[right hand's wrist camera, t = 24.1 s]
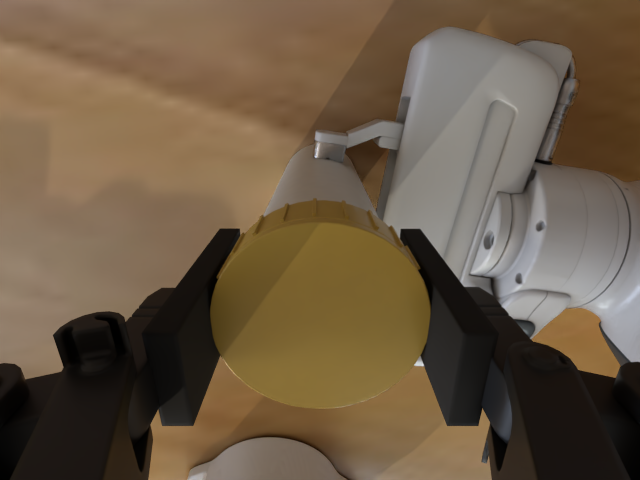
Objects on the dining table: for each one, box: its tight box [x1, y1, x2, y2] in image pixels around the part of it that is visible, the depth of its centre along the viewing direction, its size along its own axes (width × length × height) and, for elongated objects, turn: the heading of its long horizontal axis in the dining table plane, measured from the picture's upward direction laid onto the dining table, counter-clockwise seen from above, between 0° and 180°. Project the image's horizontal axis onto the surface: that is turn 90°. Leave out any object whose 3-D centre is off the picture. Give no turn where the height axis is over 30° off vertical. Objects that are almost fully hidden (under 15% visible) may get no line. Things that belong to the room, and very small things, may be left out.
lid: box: [210, 198, 431, 409], centre depth 11 cm, size 6×6×2 cm
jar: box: [263, 144, 378, 217], centre depth 19 cm, size 6×6×18 cm
